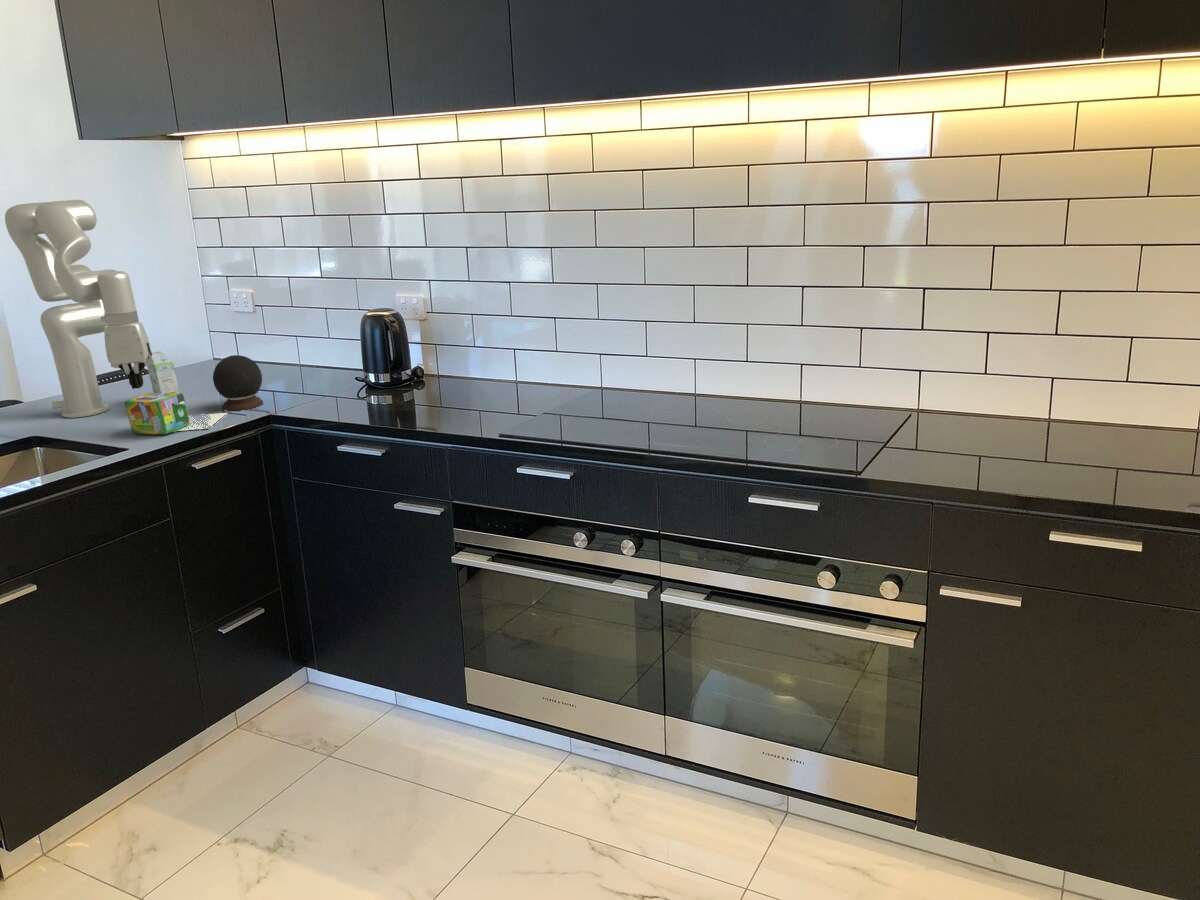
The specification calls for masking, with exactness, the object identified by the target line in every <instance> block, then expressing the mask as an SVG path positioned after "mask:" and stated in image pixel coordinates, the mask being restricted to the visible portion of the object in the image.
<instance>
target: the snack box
mask: <svg viewBox="0 0 1200 900" xmlns="http://www.w3.org/2000/svg"><path fill="white" fill-rule="evenodd" d="M152 359H153V361H154V363H153V364H151V365H148V366H146V368H147V371H148V375H149V380H150V385H151V387H152V391H153V393H181V392H180V390H179V389H180V388H179V385H178V384H179V383H178V379H177V376H176V374H177V373H176V371H175V366H174V362H173V360H172V359H170V357H168V356H167V354H165V353H164V352H163V351H162V350H159V351H158V350H157V351H152Z"/></svg>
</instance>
